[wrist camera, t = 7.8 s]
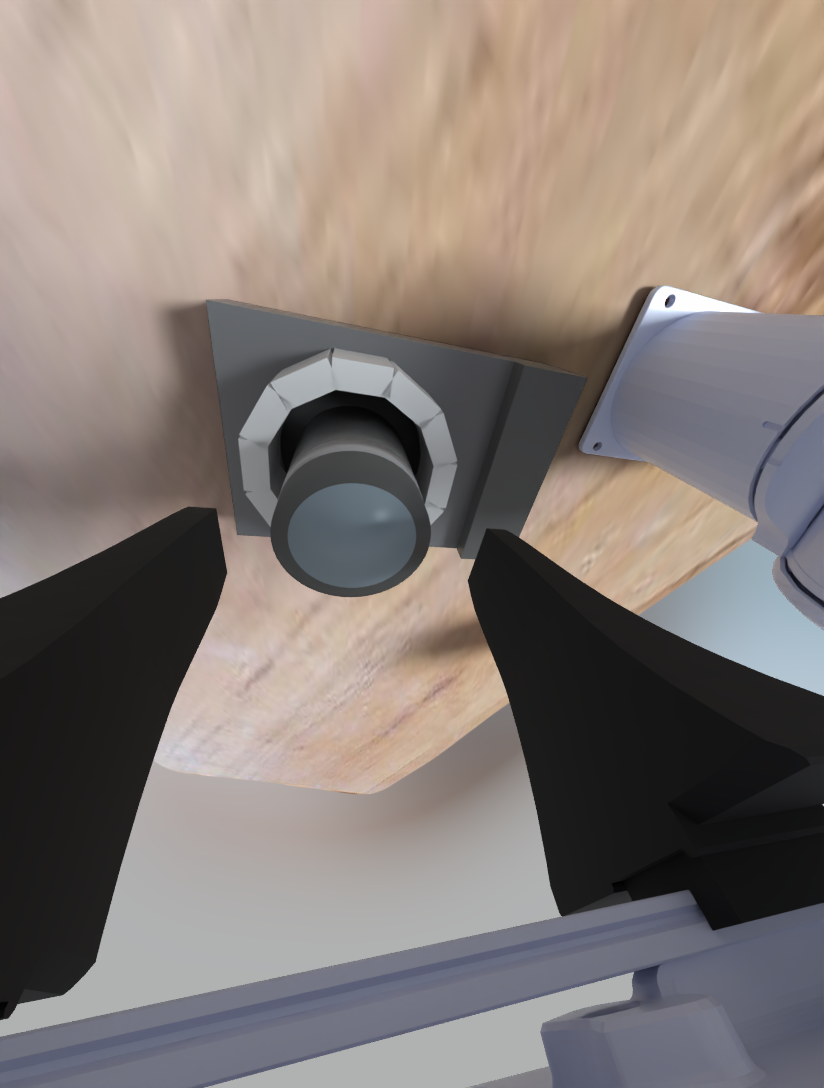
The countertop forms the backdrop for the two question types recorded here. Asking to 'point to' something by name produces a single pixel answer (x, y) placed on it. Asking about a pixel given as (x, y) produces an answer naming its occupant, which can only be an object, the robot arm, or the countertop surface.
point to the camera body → (388, 414)
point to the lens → (350, 507)
